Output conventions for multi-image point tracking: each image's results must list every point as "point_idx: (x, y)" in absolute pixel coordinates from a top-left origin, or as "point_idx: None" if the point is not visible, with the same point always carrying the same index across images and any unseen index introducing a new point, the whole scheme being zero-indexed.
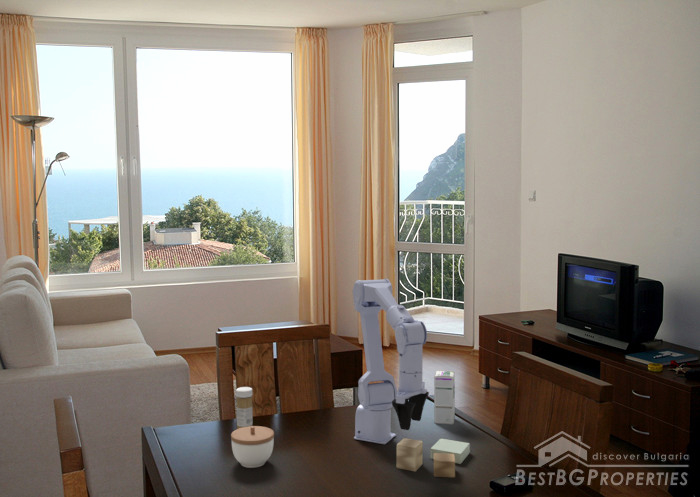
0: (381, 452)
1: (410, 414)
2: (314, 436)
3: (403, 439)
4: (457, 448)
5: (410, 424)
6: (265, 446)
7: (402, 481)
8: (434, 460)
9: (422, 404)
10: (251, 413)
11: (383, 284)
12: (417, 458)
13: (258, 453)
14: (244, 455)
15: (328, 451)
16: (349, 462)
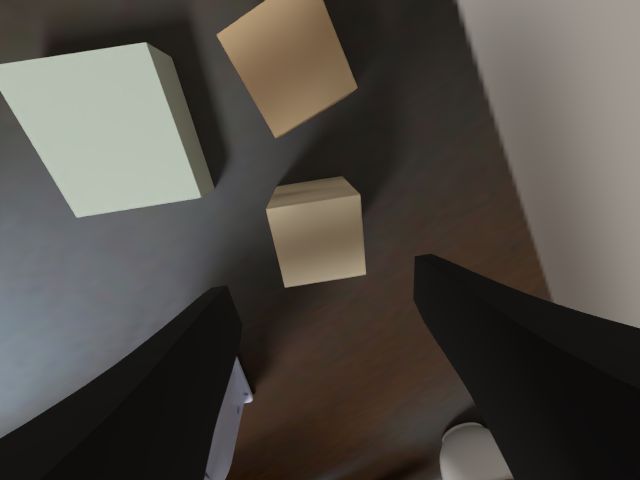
0: (278, 317)
1: (574, 313)
2: (295, 443)
3: (301, 281)
4: (103, 93)
5: (436, 266)
6: None
7: (430, 171)
8: (352, 88)
9: (139, 389)
10: None
11: None
12: (328, 186)
13: None
14: None
15: (348, 392)
16: (379, 336)
